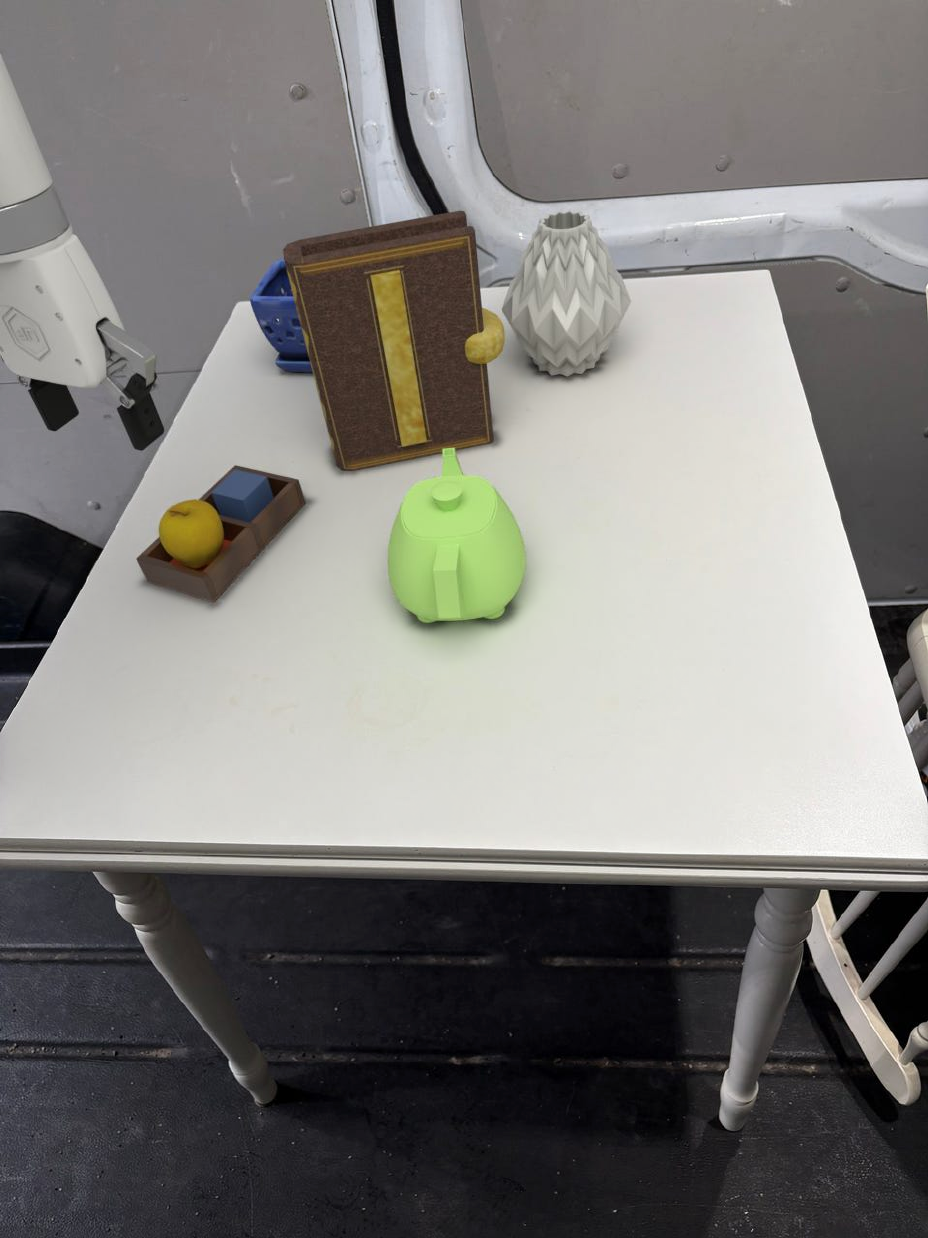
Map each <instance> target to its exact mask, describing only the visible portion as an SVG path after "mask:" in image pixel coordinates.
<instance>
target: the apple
mask: <svg viewBox="0 0 928 1238" xmlns="http://www.w3.org/2000/svg"><path fill="white" fill-rule="evenodd" d="M158 537H160V540H161V543H162V545H163V547H164V548H165V550H166V551H167V552H168V553H169V554H170V555H171V556H172V557H173V558H175V559H176V560H177V561H179V562H180V563H181V564H183V565H184V566H188V567H191V568H197V569H198V568H201V567H203V566H206V565H208V564H211V563H212V561H213V560H214V559H215V558H216V557H217V556H218V554H219V552H220V550H221V547H222V544H223V540H224V530H223V526H222V522H221V519H220V517H219V515H218V513H217V511H216V510H215V509H214V507H213V506H211V505H210V504H209V503H207V502H204V501H201V500H199V499H196V498H195V499H193V498H192V499H186V500H184V501H181V502H178V503H176V504H173V505H172V506H170V507H168V509H166V511H165V512H164V514H163V515H162V516H161V518H160V521H159V524H158Z"/></svg>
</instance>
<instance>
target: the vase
mask: <svg viewBox="0 0 928 1238" xmlns="http://www.w3.org/2000/svg"><path fill="white" fill-rule="evenodd" d="M530 238H531V239H530V242H529V243H528V245H527V246H526V247H525V249H523V251H522V253H521V258H520V261H519V266H518V268H517V272H516V275H515V276H514V277H513V279H512V280H511V281H510V283H509V285H508V289H507V291H506V295H505V298H504V300H503V304H502V307H501V312H502V314H503V315H504V317H505V319H506V321H507V322H508V325H509V326H510V328H511V330H512V331H513V333H514V335H515V338H516V340H517V341H518V343H519V345H520V346H521V348H522V350H523V351H524V353H525V355H526V356H528V357H530V358H532V360H533V364H534V365H537V366H538V370H539V372H548V374H549V375H550V376H555V375H557V376H558V375H562V376H565V377H567V378H568V377H570V376H571V375H573V374H580V375H583V374H584V373H585V371H587V370H588V369H594V368H595V365H596V363H597V362H598V361H600V358H601V354H603V353H605V352H607V351H608V348H609V347H610V345H611V343H612V341H613V340H614V338H615V336H616V334H617V332H618V330H619V326H620V325H621V323H622V321H623V319H624V317H625V315H626V314H627V311H628V308H629V307H630V305H631V303H632V299H631V297H630V294H629V292H628V289H627V287H626V284H625V282H624V279H623V276H622V274H621V273H620V272H619V271H618V270H617V268H615V267H614V263H613V261H612V257H611V253H610V250H609V247H608V244H606V243H605V242H604V240H602V238H601V237H600V235H599V232H598V229H597V228H596V227H595V226H594V225H593V222H592V220H591V218H590V215H589V214H583V212H582V211H576V212H574V211H572V210H571V209H570V210H567V211H565V212H563V211H559V210H557V211H556V212H555V213H553V214H551V213H547V214H546V216H545V217H541V218H539V219H538V224H537V227H536V230H535V231H533V233H532V235H531V237H530Z"/></svg>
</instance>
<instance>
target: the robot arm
mask: <svg viewBox="0 0 928 1238" xmlns="http://www.w3.org/2000/svg"><path fill="white" fill-rule="evenodd" d="M0 358H1V361H2V362H3V363H4V364H5V365H6V367H7V368H8V370H10V371H11V372H12V373H13V374H16V379H17V381H18V383H19V385H20V386H21V387H23V388H25V389H28V390H27V392H28V394H29V396H30V398H31V399H32V402H33V404H34V405H35V408H36V410H37V411H38V413H39V416H40V417H41V420H42V421H43V423H44V425H45V427H46V429H47V430H48V431H50V432H57V431H59V430H60V429H61V428H63V427H65V426H66V425H67V424H68V423H70V422H71V421H72V420H74V419H75V418H76V417H78V416H79V414H80V411H79V408H78V407H77V403H76V402H75V400H74V398H73V396H72V394H71V392H70V389H69V388H68V387H72V388H79V389H86V390H90V389H95V388H97V387H98V386H100V385H101V386H102V388H104V390H106V391H107V392H108V393H109V394H110V395H111V396H112V397H113V398H114V399H115V400H116V401H117V402H118V403H119V404H120V405H119V406H118V407H116V411H117V413H118V417H119V418H120V420H121V422H122V425H123V427H124V429H125V431H126V434H127V436H128V438H129V441H130V444H131V445H132V448H134V450H135V451H139V452H140V451H141V452H143V451H144V450H145V449H147V448H148V447H149V446H150V445H151V444H153V443H154V442H155V441H156V440H157V439H159V438H160V437H161V436H162V435H164V433H165V426H164V424H163V422H162V420H161V417H160V414H159V412H158V410H157V407H156V403H155V402H154V399H153V397H152V394H151V393H152V392H153V391H154V389H155V387H154V385H155V383H156V381H157V379H158V375H157V370H156V369H157V353H156V352H155V350H154V349H153V348H152V347H151V346H149V345H147V343H144V342H142V340H139V339H137V338H136V337H135V336H133V335H131V334H130V333H128V332H127V331H126V329H125V326H124V324H123V322H122V320H121V317H120V316H119V313H118V310H117V309H116V306H115V304H114V302H113V300H112V297H111V295H110V294H109V291H108V289H107V288H106V285H105V283H104V281H103V279H102V278H101V276H100V273H99V272H98V270H97V268H96V266H95V264H94V263H93V261H92V259H91V257H90V256H89V253H88V252H87V251H86V249H85V247H84V245H83V244H82V242H81V241H80V239H79V237H78V236H77V235H76V234H74V229H73V226H72V224H71V222H70V220H69V216H68V214H67V212H66V209H65V207H64V205H63V202H62V200H61V197H60V195H59V192H58V190H57V187H56V185H55V183H54V180H53V178H52V175H51V173H50V170H49V169H48V166H47V164H46V161H45V159H44V156H43V154H42V151H41V149H40V147H39V144H38V141H37V139H36V137H35V134H34V132H33V130H32V127H31V125H30V122H29V120H28V116H27V115H26V113H25V109H24V108H23V105H22V103H21V100H20V98H19V96H18V93H17V90H16V88H15V86H14V83H13V80H12V77H11V76H10V73H9V71H8V69H7V65H6V63H5V61H4V59H3V56H2V54H1V53H0ZM107 364H109V365H108V366H107ZM119 373H122V374H123V375H124V376H125V377H126V378H127V379H128V381H127V383H126V385H125V387H124V386H123V384H121V382H120V381H118V380H117V378H115V376H116V375H118V374H119Z"/></svg>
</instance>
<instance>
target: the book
mask: <svg viewBox="0 0 928 1238" xmlns="http://www.w3.org/2000/svg"><path fill="white" fill-rule="evenodd" d="M476 236H477V235H476V230H475V228H474V226H472V225H468V219H467V214H466V211H465V210H456V211H451V212H450V211H449V212H445V213H440V214H433V215H428V216H423V217H416V218H412V219H406V220H399V221H395V222H390V223H389V222H388V223H384V224H377V225H374V226H367V227H361V228H355V229H351V230H344V231H340V232H335V233H328V234H323V235H322V234H321V235H317V236H312V237H306V238H300V239H298V240H295V241H292V242H289V243H287V244H286V245H285V246H284V248H283V249H282V254H283V259H284V261H285V265H286V269H287V273H288V277H289V281H290V285H291V290H292V293H293V296H294V300H295V304H296V308H297V312H298V316H299V320H300V324H301V328H302V332H303V336H304V340H305V344H306V348H307V351H308V355H309V359H310V363H311V367H312V371H313V372H312V375H313V378H314V382H315V385H316V386H315V387H316V390H317V394H318V399H319V402H320V406H321V410H322V415H323V418H324V421H325V426H326V429H327V434H328V437H329V441H330V446H331V449H332V453H333V457H334V461H335V465H336V467H338V468H339V469H340V470H341V471H349V472H352V471H353V472H354V471H359V470H364V469H369V468H373V467H378V466H384V465H388V464H395V463H398V462H403V461H408V460H414V459H418V458H424V457H428V456H434V455H438V454H443V449H446V448H455V451H459V450H463V449H467V448H472V447H473V448H474V447H479V446H483V445H484V446H485V445H489V444H493V443H494V441H495V439H494V430H493V429H494V427H493V417H492V416H493V415H492V405H491V395H490V394H491V393H490V382H489V372H488V371H489V370H488V364H489V363H491V362H493V361H494V360H495V359H497V358H498V357H500V355H501V354H502V353H503V350H504V347H505V342H506V334H505V327H504V324H503V322H502V320H501V318H500V317H499V316H498V314H496V313H495V312H494V311H491V310H490V309H487V308H485V307H483V304H482V294H481V282H480V271H479V270H480V269H479V259H478V248H477V238H476Z"/></svg>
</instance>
